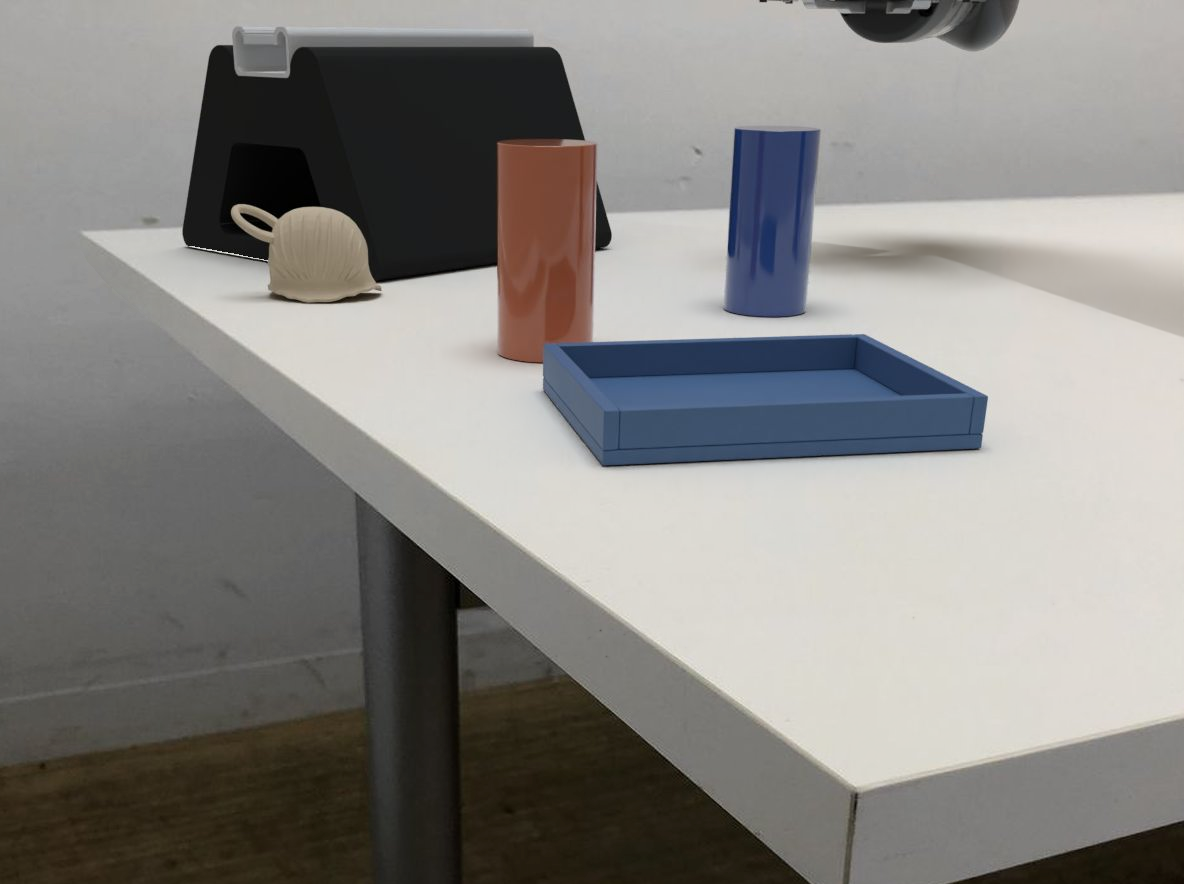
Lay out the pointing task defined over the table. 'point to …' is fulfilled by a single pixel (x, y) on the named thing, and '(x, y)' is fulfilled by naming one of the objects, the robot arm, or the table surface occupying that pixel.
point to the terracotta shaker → (545, 244)
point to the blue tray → (756, 399)
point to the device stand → (373, 137)
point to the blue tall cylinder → (771, 219)
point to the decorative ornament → (312, 253)
